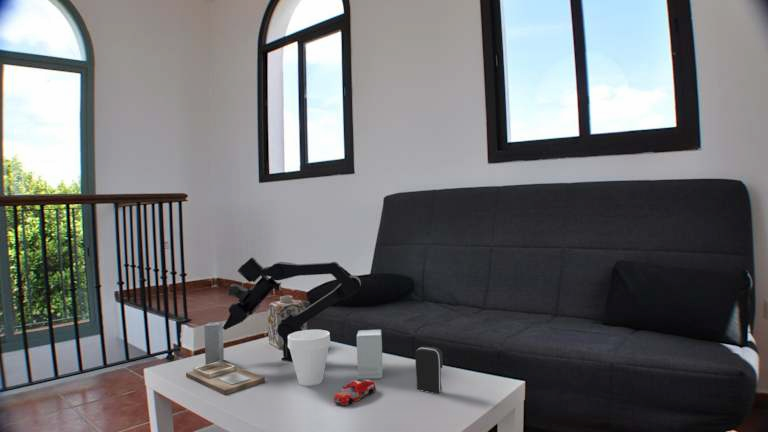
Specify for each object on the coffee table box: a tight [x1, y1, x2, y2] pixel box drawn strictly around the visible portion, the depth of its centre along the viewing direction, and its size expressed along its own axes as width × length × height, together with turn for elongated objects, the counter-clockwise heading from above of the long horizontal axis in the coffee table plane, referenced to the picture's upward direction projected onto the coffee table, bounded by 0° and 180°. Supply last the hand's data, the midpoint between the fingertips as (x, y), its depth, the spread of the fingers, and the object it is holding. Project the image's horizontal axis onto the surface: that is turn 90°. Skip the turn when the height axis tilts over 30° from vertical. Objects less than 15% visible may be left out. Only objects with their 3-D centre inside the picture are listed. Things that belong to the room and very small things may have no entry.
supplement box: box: [356, 329, 384, 380], centre depth 138 cm, size 7×7×13 cm
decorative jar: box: [267, 295, 308, 350], centre depth 177 cm, size 12×12×18 cm
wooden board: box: [185, 360, 266, 395], centre depth 139 cm, size 13×24×2 cm, turn 47°
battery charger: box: [415, 346, 444, 394], centre depth 124 cm, size 7×4×11 cm, turn 56°
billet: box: [203, 321, 225, 365], centre depth 156 cm, size 5×5×13 cm
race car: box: [333, 379, 377, 406], centre depth 121 cm, size 13×5×4 cm, turn 140°
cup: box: [288, 329, 331, 387], centre depth 134 cm, size 12×12×14 cm
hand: (228, 325), depth 157 cm, fingers open, 9 cm apart
